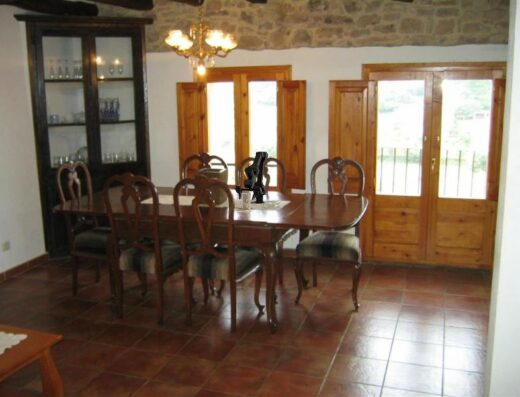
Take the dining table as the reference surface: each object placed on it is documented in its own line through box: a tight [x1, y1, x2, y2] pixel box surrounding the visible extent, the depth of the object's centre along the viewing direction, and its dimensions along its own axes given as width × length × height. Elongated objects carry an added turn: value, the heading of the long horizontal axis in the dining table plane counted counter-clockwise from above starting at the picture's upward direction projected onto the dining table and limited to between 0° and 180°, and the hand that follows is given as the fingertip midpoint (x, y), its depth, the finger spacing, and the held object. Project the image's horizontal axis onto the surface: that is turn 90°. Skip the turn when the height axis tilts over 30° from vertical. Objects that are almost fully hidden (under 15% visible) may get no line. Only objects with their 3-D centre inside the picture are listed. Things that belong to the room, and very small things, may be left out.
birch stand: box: [234, 194, 253, 213], centre depth 389 cm, size 11×10×13 cm
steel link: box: [241, 191, 252, 210], centre depth 393 cm, size 2×6×12 cm, turn 74°
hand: (245, 199), depth 392 cm, fingers open, 9 cm apart
